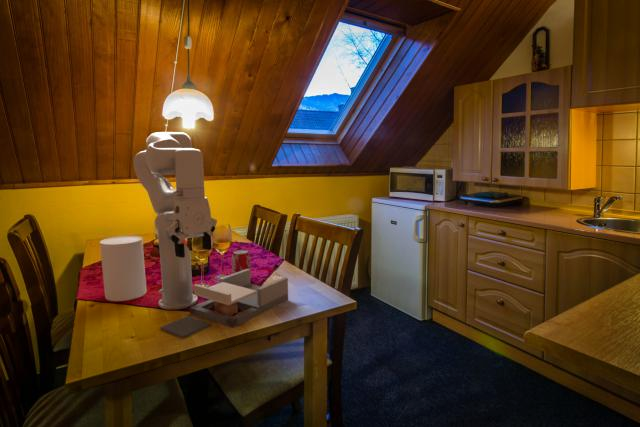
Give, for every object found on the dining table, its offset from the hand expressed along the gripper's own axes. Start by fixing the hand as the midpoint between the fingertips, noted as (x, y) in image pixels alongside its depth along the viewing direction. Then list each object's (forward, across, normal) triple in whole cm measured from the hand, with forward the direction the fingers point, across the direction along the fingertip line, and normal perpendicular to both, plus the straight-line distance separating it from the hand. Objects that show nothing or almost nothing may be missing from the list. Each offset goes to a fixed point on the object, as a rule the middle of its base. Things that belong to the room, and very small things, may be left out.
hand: (194, 253), depth 118 cm
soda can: (+22, +36, +18) cm, 46 cm away
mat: (+22, -3, +2) cm, 23 cm away
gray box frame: (+22, +18, 0) cm, 28 cm away
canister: (+23, +4, +43) cm, 49 cm away
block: (+22, +11, 0) cm, 25 cm away
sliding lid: (+16, +11, 0) cm, 19 cm away
